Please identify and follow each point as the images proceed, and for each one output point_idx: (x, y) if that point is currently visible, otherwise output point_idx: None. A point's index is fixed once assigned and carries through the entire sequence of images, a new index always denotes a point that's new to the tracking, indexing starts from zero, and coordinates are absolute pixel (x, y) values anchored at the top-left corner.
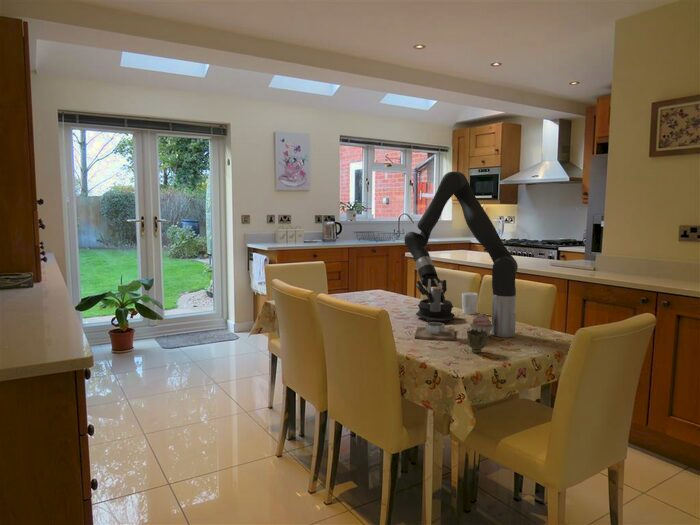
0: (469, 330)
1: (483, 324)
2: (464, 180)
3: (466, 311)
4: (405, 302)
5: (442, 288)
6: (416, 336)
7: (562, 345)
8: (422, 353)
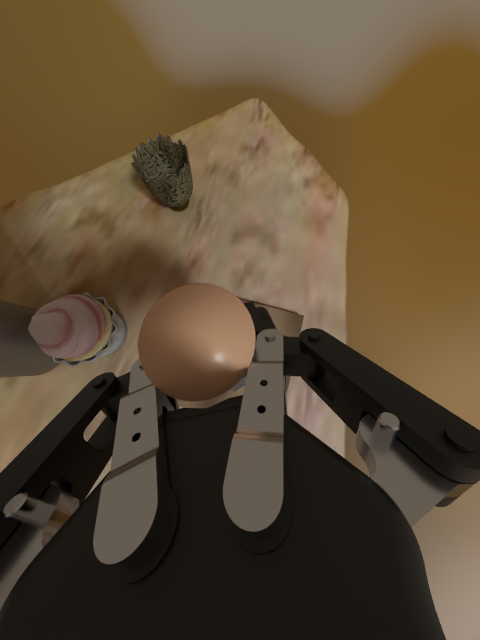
0: (173, 175)
1: (81, 295)
2: None
3: None
4: None
5: (100, 451)
6: (298, 314)
7: None
8: (300, 201)
